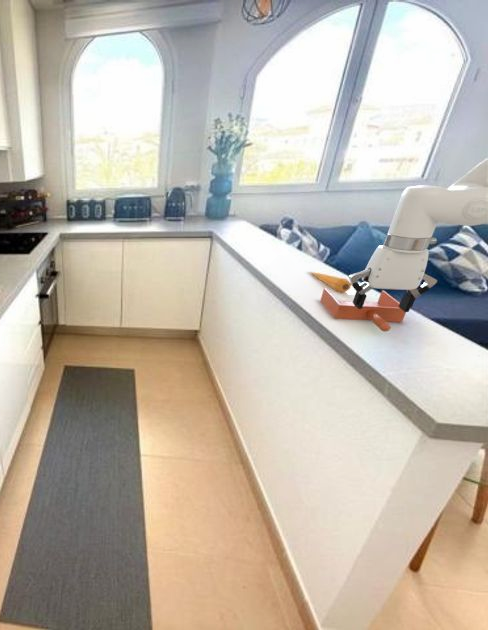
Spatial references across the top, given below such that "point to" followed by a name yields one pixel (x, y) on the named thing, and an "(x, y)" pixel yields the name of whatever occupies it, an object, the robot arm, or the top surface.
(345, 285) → the carrot
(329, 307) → the dustpan
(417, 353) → the top surface
